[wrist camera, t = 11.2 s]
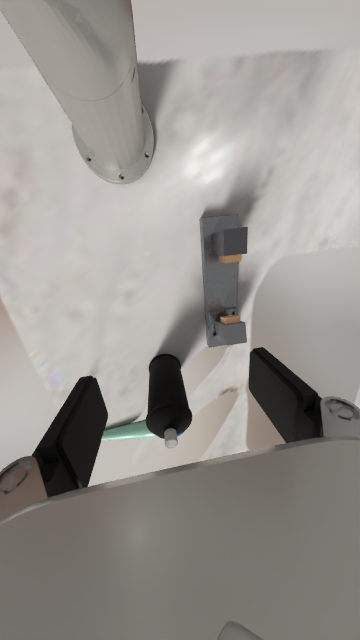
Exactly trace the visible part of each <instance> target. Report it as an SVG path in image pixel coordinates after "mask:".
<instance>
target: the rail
mask: <svg viewBox="0 0 360 640" xmlns="http://www.w3.org/2000/svg"><path fill="white" fill-rule="evenodd" d="M247 231H248V227H242V228H238V214H237V215H226V216H216V217H206V218H201V219H200V233H201V250H202V267H203V284H204V302H205V319H206V336H207V345H208V346H209V347H215V346H221V345H226V344H225V343H223V342H222V341H220V340H219V339H218V338H216V329H215V321H217V320H221V318H220V317H223V316H230V315H238V308H237V262H238V261H241V254H246V253H247Z"/></svg>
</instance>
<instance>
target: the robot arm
mask: <svg viewBox="0 0 360 640" xmlns="http://www.w3.org/2000/svg"><path fill="white" fill-rule="evenodd" d="M0 11H1V12H2V14H3V15H4V17H5V18H6V20H7V21H8V23H9V24H10V26H11V27H12V29H13V31H14V32H15V34H16V35H17V37H18V38H19V40H20V42H21V43H22V45H23V46H24V48H25V49H26V51H27V53H28V54H29V56H30V57H31V59H32V61H33V62H34V64H35V66H36V67H37V69H38V70H39V72H40V73H41V75H42V77H43V78H44V80H45V82H46V83H47V85H48V86H49V88H50V89H51V91H52V93H53V94H54V96H55V97H56V99H57V101H58V102H59V104H60V105H61V107H62V109H63V110H64V112H65V113H66V115H67V116H68V118H69V120H70V121H71V123H72V130H73V136H74V140H75V143H76V146H77V149H78V151H79V153H80V155H81V156H82V158H83V159H84V161H85V162H86V164H87V165H88V166H89V167H90V169H91V170H92V171H93V172H94V173H95V174H97V175H98V176H99V177H101V178H102V179H104V180H106V181H108V182H111V183H115V184H127V183H131V182H133V181H135V180H137V179H139V178H140V177H141V176H142V175H143V174H144V173H145V171H146V170H147V169H148V167H149V165H150V162H151V159H152V156H153V148H154V136H153V128H152V125H151V121H150V118H149V115H148V113H147V111H146V109H145V107H144V106H143V104H142V102H141V98H140V88H139V77H138V67H137V56H136V45H135V35H134V25H133V15H132V6H131V0H0ZM146 156H148V158H146ZM90 159H91V161H90V162H89V160H90ZM122 177H123V178H124V179H123V180H122V179H121V178H122ZM249 390H250V392H251V393H252V395H253V396H254V398H255V399H256V400H257V402H258V403H259V405H260V406H261V408H262V409H263V411H264V412H265V413H266V415H267V416H268V417H269V419H270V420H271V422H272V423H273V425H274V426H275V428H276V429H277V430H278V432H279V433H280V435H281V436H282V437H283V439H284V440H285V442H286V443H285V444H280V445H275V446H270V447H266V448H261V449H257V450H251V451H247V452H242V453H237V454H232V455H228V456H223V457H219V458H214V459H209V460H205V461H200V462H196V463H191V464H186V465H182V466H178V467H173V468H169V469H164V470H160V471H155V472H150V473H146V474H142V475H137V476H132V477H129V478H124V479H120V480H115V481H110V482H106V483H102V484H98V485H94V486H90V487H88V484H89V480H90V477H91V473H92V470H93V466H94V463H95V460H96V456H97V453H98V450H99V446H100V443H101V439H102V436H103V433H104V429H105V426H106V422H107V419H108V412H107V409H106V406H105V403H104V400H103V397H102V394H101V391H100V388H99V385H98V382H97V379H96V378H93V377H92V376H86V377H81V378H80V379H79V380H78V382H77V383H76V385H75V387H74V388H73V390H72V391H71V393H70V395H69V396H68V398H67V399H66V401H65V403H64V404H63V406H62V408H61V409H60V411H59V412H58V414H57V416H56V417H55V419H54V420H53V422H52V424H51V425H50V427H49V428H48V430H47V432H46V433H45V435H44V436H43V438H42V440H41V441H40V443H39V445H38V446H37V448H36V449H35V451H34V453H33V454H32V456H27V457H23V458H20V459H17V460H16V461H14V462H12V463H11V464H9V465H8V466H7V467H5V468H4V469H3V470H2V471H1V472H0V640H360V409H359V408H358V407H357V406H355V405H354V404H353V403H351V402H349V401H347V400H344V399H341V398H338V397H324V398H323V399H322V398H321V397H319V396H318V393H317V392H316V391H314V390H313V389H312V388H311V387H310V386H308V385H307V384H306V383H305V382H304V381H302V380H301V379H300V378H299V377H298V376H297V375H295V374H294V373H293V372H292V371H291V370H290V369H288V368H287V367H286V366H285V365H284V364H282V363H281V362H280V361H279V360H278V359H276V358H275V357H274V356H273V355H272V354H271V353H269V352H268V351H267V350H266V349H265V348H263V347H261V348H255V349H253V350H252V351H251V352H250V366H249Z"/></svg>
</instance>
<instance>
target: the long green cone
mask: <svg viewBox="0 0 360 640" xmlns="http://www.w3.org/2000/svg"><path fill="white" fill-rule="evenodd" d="M140 438H158V436H156V435H154V434H153V433H151V432H150V431H149V430H148V428H147V425H146V420H142V421H138V422H135V423H131V424H127V425H124V426H120V427H116V428H112V429H108V430H105V431H104V433H103V436H102V439H101V441H105V440H123V439H140Z"/></svg>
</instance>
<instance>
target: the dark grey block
mask: <svg viewBox="0 0 360 640" xmlns="http://www.w3.org/2000/svg"><path fill="white" fill-rule="evenodd" d="M220 318H221V320H217V321H215V329H216V338H218V339H219V340H220V341H222V342H223V343H225V344H226V345H233V344H239V343H245V342H247V338H246V326H245V322H242V321H240V316H237V315H230V316H223V317H220Z"/></svg>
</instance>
